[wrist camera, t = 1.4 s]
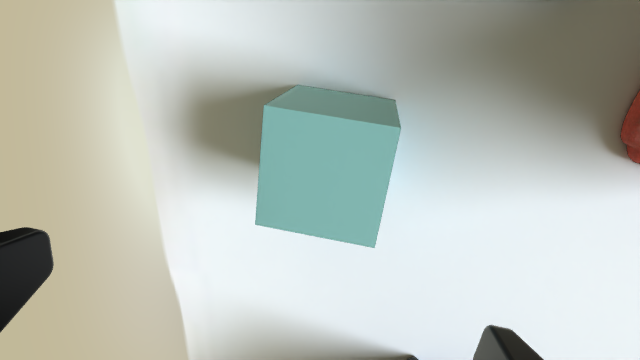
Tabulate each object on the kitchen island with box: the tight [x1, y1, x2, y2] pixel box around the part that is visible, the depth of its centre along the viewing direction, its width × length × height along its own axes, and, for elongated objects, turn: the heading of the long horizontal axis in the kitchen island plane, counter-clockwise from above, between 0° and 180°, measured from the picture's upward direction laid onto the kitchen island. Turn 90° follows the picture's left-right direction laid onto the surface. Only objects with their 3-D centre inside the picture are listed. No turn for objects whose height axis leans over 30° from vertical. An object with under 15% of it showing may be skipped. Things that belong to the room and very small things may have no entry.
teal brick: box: [255, 85, 401, 248], centre depth 17 cm, size 5×5×6 cm
